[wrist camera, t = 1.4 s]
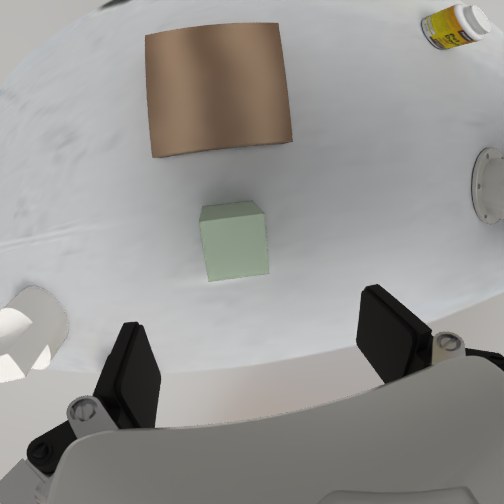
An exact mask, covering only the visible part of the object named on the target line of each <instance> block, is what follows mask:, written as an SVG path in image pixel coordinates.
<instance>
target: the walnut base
mask: <svg viewBox="0 0 504 504" xmlns="http://www.w3.org/2000/svg"><path fill="white" fill-rule="evenodd" d="M145 64H146V88H147V105H148V118H149V129H150V140H151V149H152V158H163V157H169V156H175V155H181V154H188V153H195V152H202V151H209V150H218V149H226V148H236V147H246V146H258V145H271V144H283V143H288V142H293V139H292V128H291V118H290V109H289V100H288V91H287V82H286V74H285V67H284V59H283V52H282V45H281V38H280V31H279V25H278V23H230V24H216V25H205V26H197V27H189V28H182V29H176V30H170V31H164V32H159V33H154V34H150V35H145Z"/></svg>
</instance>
